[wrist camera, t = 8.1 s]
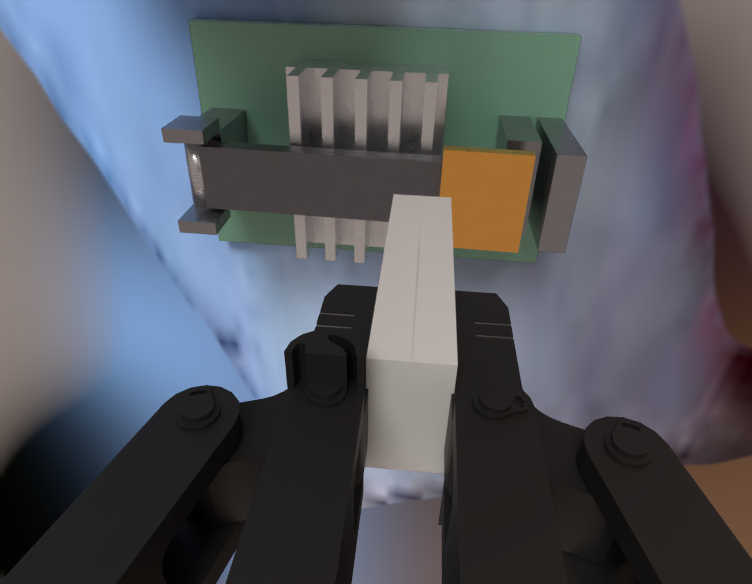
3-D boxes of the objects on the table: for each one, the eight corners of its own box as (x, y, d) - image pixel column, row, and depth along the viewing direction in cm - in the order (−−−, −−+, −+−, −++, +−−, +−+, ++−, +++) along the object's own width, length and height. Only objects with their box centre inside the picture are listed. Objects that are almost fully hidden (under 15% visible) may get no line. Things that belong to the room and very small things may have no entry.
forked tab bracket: (210, 95, 39) (161, 128, 32) (244, 97, 39) (201, 130, 32) (221, 185, 42) (179, 232, 36) (252, 187, 42) (216, 234, 35)
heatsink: (296, 57, 37) (275, 74, 32) (448, 65, 36) (449, 83, 32) (304, 223, 43) (287, 257, 39) (433, 232, 43) (432, 267, 38)
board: (195, 18, 37) (188, 20, 36) (577, 33, 36) (581, 36, 35) (224, 234, 46) (219, 240, 45) (533, 255, 44) (535, 262, 43)
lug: (499, 115, 38) (511, 152, 31) (561, 118, 37) (587, 156, 31) (487, 198, 41) (496, 248, 34) (545, 202, 40) (564, 253, 34)
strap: (187, 122, 34) (172, 132, 32) (531, 144, 32) (535, 155, 30) (201, 212, 37) (188, 226, 36) (515, 237, 35) (518, 252, 34)
